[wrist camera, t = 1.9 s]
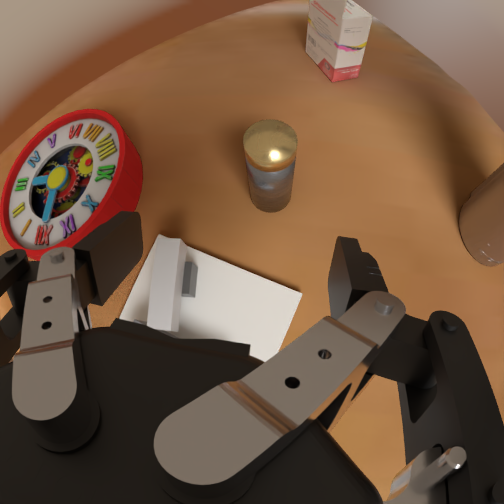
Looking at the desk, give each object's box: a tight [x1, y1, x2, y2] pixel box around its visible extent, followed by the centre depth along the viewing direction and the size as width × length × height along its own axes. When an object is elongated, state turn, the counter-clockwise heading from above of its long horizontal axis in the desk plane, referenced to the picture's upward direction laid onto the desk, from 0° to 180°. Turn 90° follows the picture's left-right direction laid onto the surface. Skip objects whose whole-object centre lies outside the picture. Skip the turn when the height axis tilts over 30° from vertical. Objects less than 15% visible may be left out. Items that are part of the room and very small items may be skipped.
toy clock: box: [0, 109, 143, 261], centre depth 33 cm, size 20×6×20 cm
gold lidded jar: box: [243, 120, 297, 212], centre depth 29 cm, size 4×4×10 cm
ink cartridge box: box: [306, 0, 373, 82], centre depth 32 cm, size 9×5×15 cm, turn 21°
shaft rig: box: [119, 234, 302, 362], centre depth 26 cm, size 27×16×6 cm, turn 157°
